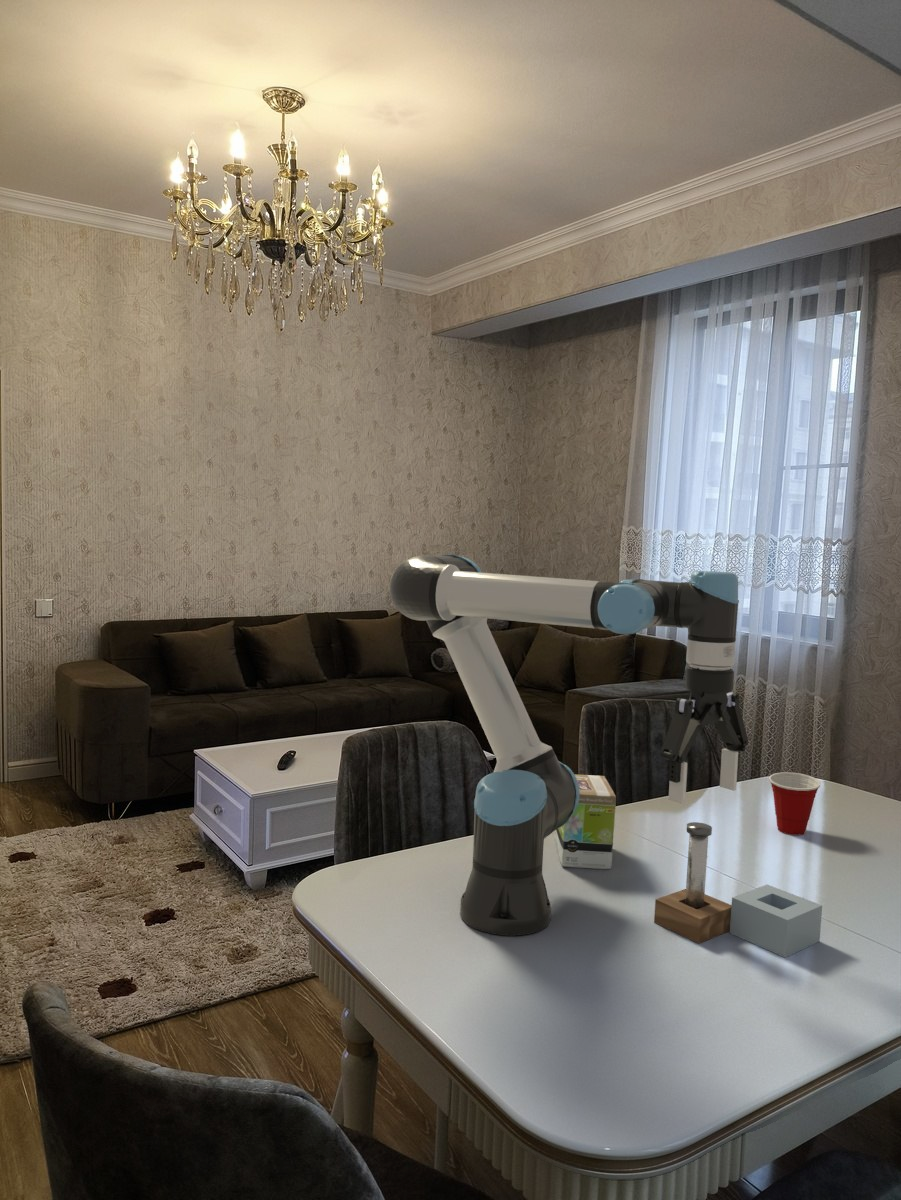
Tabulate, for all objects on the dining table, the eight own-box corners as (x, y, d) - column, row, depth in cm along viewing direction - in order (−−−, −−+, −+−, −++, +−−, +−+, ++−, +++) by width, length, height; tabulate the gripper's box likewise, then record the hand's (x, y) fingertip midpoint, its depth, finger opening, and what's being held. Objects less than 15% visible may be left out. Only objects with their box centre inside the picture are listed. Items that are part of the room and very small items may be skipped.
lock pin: (695, 933, 145) (702, 832, 144) (675, 924, 148) (681, 824, 147) (710, 927, 147) (716, 827, 146) (690, 918, 151) (696, 820, 149)
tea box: (613, 870, 171) (617, 795, 170) (560, 868, 171) (564, 793, 170) (601, 843, 186) (605, 773, 185) (553, 840, 186) (556, 771, 185)
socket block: (785, 957, 138) (787, 920, 137) (729, 933, 146) (732, 897, 145) (819, 941, 144) (822, 905, 143) (764, 918, 152) (767, 884, 151)
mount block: (698, 943, 141) (700, 919, 141) (654, 922, 149) (655, 899, 148) (732, 929, 147) (734, 906, 147) (687, 909, 154) (689, 887, 154)
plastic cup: (758, 831, 197) (762, 778, 196) (773, 820, 206) (776, 769, 205) (810, 843, 191) (814, 788, 190) (822, 830, 199) (826, 778, 198)
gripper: (680, 675, 134) (673, 813, 135) (774, 664, 149) (766, 788, 151) (641, 668, 140) (635, 800, 141) (735, 658, 155) (728, 778, 156)
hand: (703, 794), depth 146 cm, fingers open, 13 cm apart
